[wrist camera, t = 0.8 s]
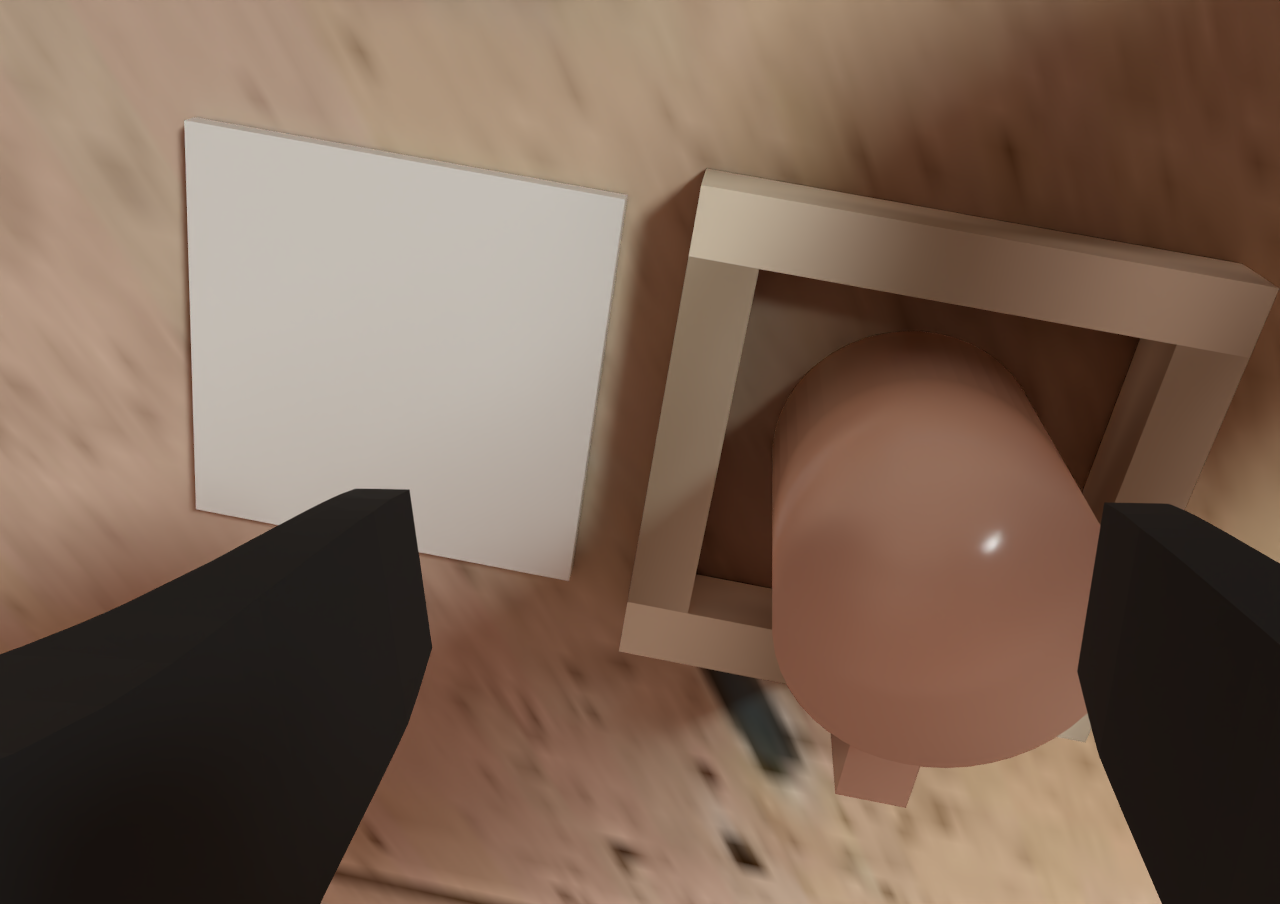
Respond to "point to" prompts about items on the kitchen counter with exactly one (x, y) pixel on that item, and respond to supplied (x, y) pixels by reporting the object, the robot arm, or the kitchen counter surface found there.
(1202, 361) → the empty picture frame
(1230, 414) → the kitchen counter surface
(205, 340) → the tile
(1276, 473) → the kitchen counter surface
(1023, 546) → the jug
